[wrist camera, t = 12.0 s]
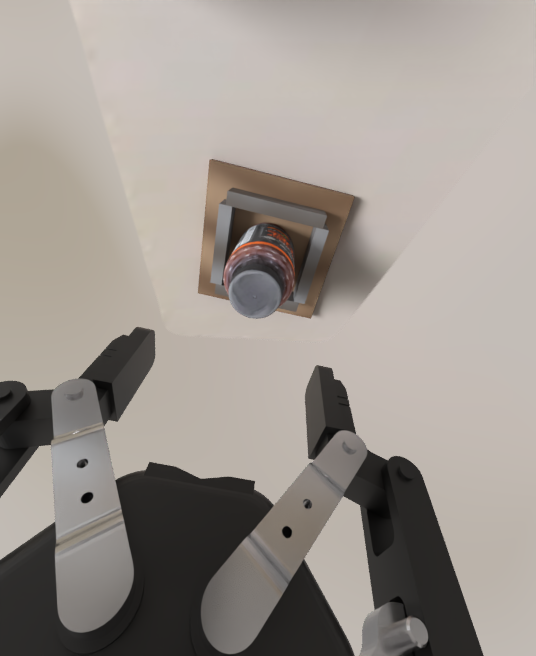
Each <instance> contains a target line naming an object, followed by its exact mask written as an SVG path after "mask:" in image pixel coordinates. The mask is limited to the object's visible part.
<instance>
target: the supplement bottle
mask: <svg viewBox="0 0 536 656" xmlns="http://www.w3.org/2000/svg"><path fill="white" fill-rule="evenodd" d="M294 258H295V257H294V246H293V242H292V240H291V238H290V236H289V234H288V233H287V232H286V231H285V230H284V229H283V228H281V227H280V226H278V225H276V224H273V223H266V222H264V223H258V224H256V225H253V226H252V227H250V228H249V229H247V230H246V231H245V233H244V234H243V235H242V237H241V238H240V240H239V242H238V244H237V245H236V247H235V249H234V251H233V253H232V254H231V256H230V258H229V259H228V261H227V264H226V266H225V269H224V277H223V281H224V286H225V289H226V291H227V293H228V295H229V299H230V302H231V304H232V306H233V308H234V309H235V310H236V311H237V312H238V313H240V314H242V315H243V316H246V317H248V318H256V319H258V318H264V317H267V316H269V315H271V314H272V313H273V312H275V311H276V310H277V308H278V307H280V306H282V305H283V304H284V303H285V302H286V301H287V299H288V298H289V297H290V295H291V293H292V290H293V287H294V282H295V265H294Z"/></svg>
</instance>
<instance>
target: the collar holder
mask: <svg viewBox="0 0 536 656" xmlns="http://www.w3.org/2000/svg"><path fill="white" fill-rule="evenodd" d="M353 200H354V196H353V195H349V194H346V193H342V192H338V191H334V190H330V189H326V188H322V187H318V186H315V185H311V184H307V183H303V182H299V181H295V180H291V179H287V178H283V177H280V176H276V175H272V174H268V173H264V172H260V171H256V170H252V169H249V168H245V167H241V166H237V165H233V164H229V163H225V162H221V161H217V160H214V159H211V160H210V161H209V172H208V184H207V195H206V207H205V218H204V230H203V241H202V252H201V264H200V275H199V287H198V293H200V294H204V295H209V296H213V297H217V298H222V299H226V300H230V299H229V295H228V293H227V291H226V289H225V286H224V281H223V277H224V269H225V266H226V264H227V261H228V259H229V258H230V256H231V254H232V253H233V251H234V249H235V247H236V245H237V244H238V242H239V240H240V238H241V237H242V235H243V234H244V233H245V231H246V230H247V229H249V228H250V227H252V226H253V225H256V224H258V223H264V222H266V223H273V224H276V225H278V226H280V227H281V228H283V229H284V230H285V231H286V232H287V233H288V234H289V236H290V238H291V240H292V242H293V246H294V257H295V258H294V265H295V282H294V287H293V290H292V293H291V295H290V297H289V298H288V299H287V301H286V302H285V303H284V304H283V305H282V306H280V307H278V308H277V310H276V311H279V312H284V313H288V314H293V315H297V316H302V317H306V318H310V319H311V316H312V314H313V311H314V308H315V305H316V303H317V300H318V297H319V294H320V292H321V289H322V286H323V283H324V280H325V278H326V275H327V272H328V269H329V267H330V264H331V261H332V258H333V256H334V253H335V250H336V247H337V244H338V242H339V239H340V236H341V233H342V231H343V228H344V225H345V222H346V220H347V217H348V214H349V211H350V208H351V206H352V203H353Z"/></svg>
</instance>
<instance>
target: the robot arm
mask: <svg viewBox="0 0 536 656" xmlns="http://www.w3.org/2000/svg"><path fill="white" fill-rule="evenodd" d="M154 359H155V332H154V330H150V329H145V328H141V327H136V328H135V329H134V330H133V332H132V333H131V334H130V335H129V336H126V335H122V336H120V337H118V338H117V339H115V340H113V341H112V342H111V343H110V344H109V345H108V346H107V347H106V349H105V350H104V351H103V352H102V353H101V355H100V356H98V358H96V360H95V361H94V362H93V363H92V364H91V365H90V366H89V367H88V368H87V370H86V371H85V372H84V373H83V374H82V375H81V376H80V377H79V378H78V379H72V380H68V381H66V382H64V383H62V384H60V385H59V386H57V387H56V388H55V389H54V390H40V391H39V390H38V391H27V388H26V386H25V385H24V384H23V383H21V382H17V381H4V382H0V497H1V496H2V495H3V493H4V492H5V491H6V489H7V488H8V487H9V485H10V484H11V483H12V481H13V480H14V479H15V477H16V476H17V475H18V473H19V472H20V471H21V470H22V468H23V467H24V466H25V464H26V463H27V461H28V460H29V459H30V458H31V456H32V455H33V454H34V452H35V451H36V450H37V448H38V447H39V446H43V445H51V453H52V470H53V471H52V472H53V488H54V506H55V522H54V523H53V524H51V525H50V526H48V527H47V528H45V529H44V530H43V531H41V532H40V533H38V534H37V535H35V536H34V537H33V538H31V539H30V540H28V541H27V542H25V543H24V544H22V545H21V546H20V547H18V548H17V549H15V550H14V551H13V552H11V553H10V554H8V555H7V556H5V557H4V558H2V559H1V560H0V656H354V653H353V650H352V648H351V645H350V643H349V641H348V639H347V637H346V635H345V633H344V631H343V630H342V628H341V626H340V624H339V622H338V620H337V618H336V617H335V615H334V613H333V611H332V609H331V608H330V606H329V604H328V602H327V600H326V599H325V596H324V595H323V593H322V591H321V589H320V588H319V586H318V584H317V582H316V580H315V578H314V576H313V575H312V573H311V571H310V569H309V567H308V565H307V563H306V562H305V560H304V558H305V556H306V555H307V553H308V552H309V550H310V548H311V547H312V545H313V543H314V542H315V540H316V539H317V537H318V535H319V534H320V532H321V531H322V529H323V527H324V526H325V524H326V522H327V521H328V519H329V518H330V516H331V515H332V513H333V511H334V510H335V508H336V506H337V505H338V503H339V502H340V500H341V498H342V497H343V496H344V497H346V498H348V499H350V500H352V501H353V502H355V503H357V504H359V505H360V507H361V515H362V522H363V530H364V536H365V544H366V550H367V558H368V565H369V573H370V579H371V587H372V594H373V601H374V608H375V610H374V611H372V612H371V613H370V614H368V615H367V617H366V619H365V621H364V624H363V630H362V649H361V653H360V655H359V656H483V653H482V650H481V647H480V644H479V641H478V638H477V635H476V632H475V629H474V626H473V623H472V620H471V618H470V615H469V612H468V609H467V606H466V603H465V600H464V597H463V594H462V591H461V588H460V585H459V582H458V579H457V576H456V574H455V571H454V568H453V565H452V562H451V559H450V556H449V553H448V550H447V547H446V544H445V541H444V538H443V536H442V533H441V530H440V527H439V524H438V521H437V518H436V515H435V512H434V509H433V506H432V503H431V500H430V497H429V494H428V492H427V489H426V486H425V483H424V480H423V477H422V475H421V473H420V471H419V470H418V468H417V467H416V466H415V465H414V464H413V463H412V462H410V461H409V460H407V459H405V458H403V457H400V456H394V457H391V458H390V459H389V460H385V459H384V458H382V457H380V456H377V455H375V454H373V453H371V452H370V451H369V450H367V448H366V445H365V443H364V442H363V441H362V439H361V438H360V437H359V436H357V435H356V432H355V427H354V423H353V418H352V414H351V409H350V407H349V400H348V396H347V392H346V389H345V387H344V386H343V384H342V383H341V381H340V380H335V379H334V376H333V371H332V368H328V367H323V366H318V365H317V366H316V367H315V369H314V371H313V373H312V376H311V378H310V381H309V383H308V386H307V389H306V394H305V405H306V423H307V440H308V458H309V459H313V460H314V461H313V462H312V463H309V464H308V465H307V467H306V468H305V469H304V470H303V471H302V473H301V474H300V475H299V476H298V477H297V479H296V480H295V481H294V482H293V483H292V485H291V486H290V487H289V488H288V489H287V491H286V492H285V493H284V494H283V495H282V497H281V498H280V499H279V500H278V502H277V503H276V504H275V505H273V504H272V503H271V502H270V501H269V499H267V498H266V497H265V496H264V495H262V494H261V493H259V492H257V491H256V490H254V484H255V481H251V480H245V479H240V478H234V477H220V478H208V479H200V478H198V477H196V476H193V475H192V474H189V473H187V472H185V471H183V470H181V469H179V468H177V467H174V466H168V465H163V464H157V463H152V462H149V464H148V467H147V469H146V470H144V471H138V472H134V473H130V474H127V475H125V476H123V477H121V478H118V479H117V480H115V477H114V472H113V468H112V462H111V458H110V453H109V448H108V443H107V439H106V434H105V429H104V426H105V424H106V423H107V421H108V420H112V421H118V420H119V418H120V417H121V415H122V414H123V412H124V410H125V409H126V407H127V405H128V404H129V402H130V401H131V399H132V398H133V396H134V394H135V393H136V391H137V390H138V388H139V386H140V385H141V383H142V381H143V380H144V378H145V377H146V375H147V374H148V372H149V370H150V368H151V367H152V365H153V362H154Z"/></svg>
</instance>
